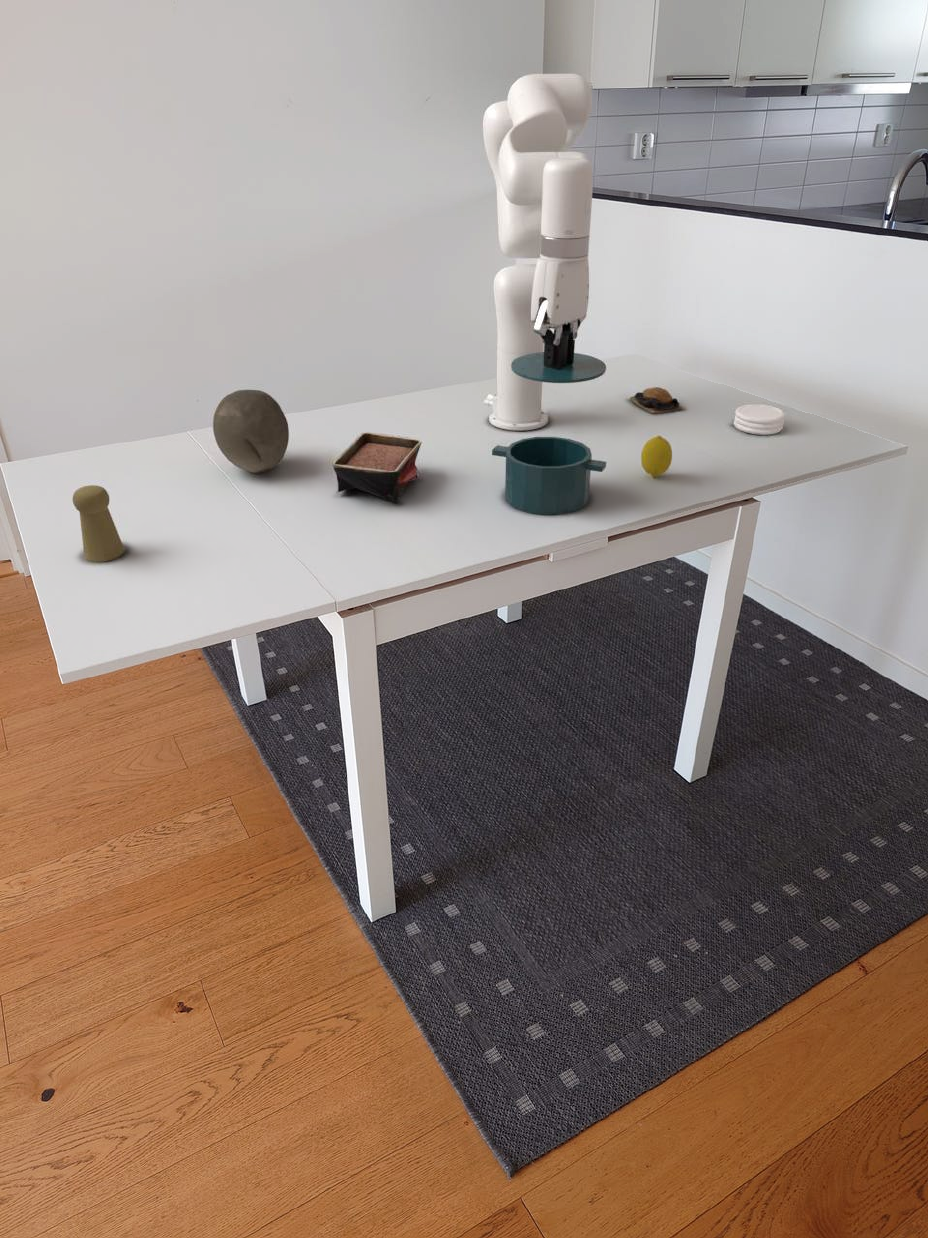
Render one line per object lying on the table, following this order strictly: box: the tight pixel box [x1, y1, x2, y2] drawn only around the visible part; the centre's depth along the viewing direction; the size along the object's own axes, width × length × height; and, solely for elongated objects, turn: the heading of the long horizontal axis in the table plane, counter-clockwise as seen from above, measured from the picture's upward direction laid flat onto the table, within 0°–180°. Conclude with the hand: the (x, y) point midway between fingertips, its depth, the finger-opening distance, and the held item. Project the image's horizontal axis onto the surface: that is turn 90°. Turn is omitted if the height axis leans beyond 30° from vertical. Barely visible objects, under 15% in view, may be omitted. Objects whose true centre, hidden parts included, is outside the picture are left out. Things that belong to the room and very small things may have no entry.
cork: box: [72, 484, 126, 563], centre depth 137 cm, size 6×6×11 cm
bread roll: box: [629, 386, 682, 415], centre depth 198 cm, size 11×8×4 cm
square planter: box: [332, 432, 423, 504], centre depth 159 cm, size 14×18×10 cm
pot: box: [491, 436, 607, 516], centre depth 155 cm, size 15×20×8 cm
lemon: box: [640, 435, 673, 478], centre depth 162 cm, size 6×6×8 cm
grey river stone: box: [212, 389, 290, 474], centre depth 165 cm, size 14×14×15 cm
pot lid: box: [511, 332, 607, 384], centre depth 147 cm, size 16×16×6 cm
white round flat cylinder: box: [733, 403, 786, 436], centre depth 185 cm, size 10×10×4 cm
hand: (558, 363), depth 148 cm, fingers closed on pot lid, 2 cm apart
